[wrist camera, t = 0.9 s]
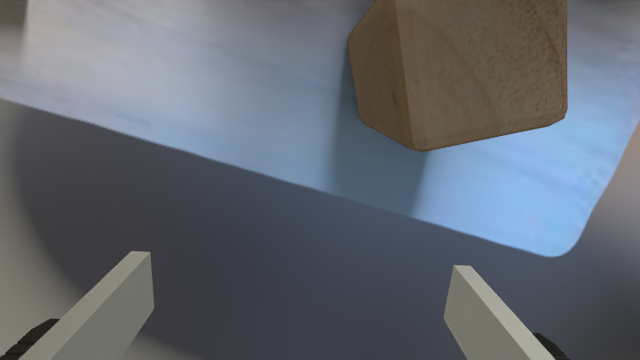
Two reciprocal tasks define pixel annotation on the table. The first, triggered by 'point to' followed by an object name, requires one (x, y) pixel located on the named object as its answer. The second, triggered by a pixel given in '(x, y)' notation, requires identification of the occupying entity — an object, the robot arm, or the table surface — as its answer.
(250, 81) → the table surface
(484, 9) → the wooden block
